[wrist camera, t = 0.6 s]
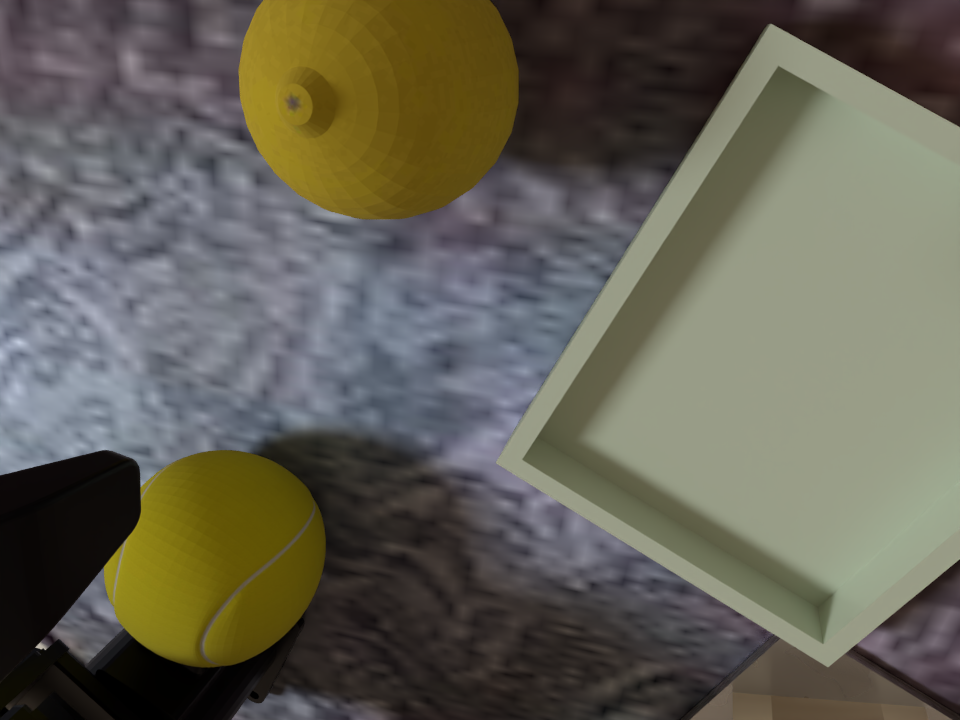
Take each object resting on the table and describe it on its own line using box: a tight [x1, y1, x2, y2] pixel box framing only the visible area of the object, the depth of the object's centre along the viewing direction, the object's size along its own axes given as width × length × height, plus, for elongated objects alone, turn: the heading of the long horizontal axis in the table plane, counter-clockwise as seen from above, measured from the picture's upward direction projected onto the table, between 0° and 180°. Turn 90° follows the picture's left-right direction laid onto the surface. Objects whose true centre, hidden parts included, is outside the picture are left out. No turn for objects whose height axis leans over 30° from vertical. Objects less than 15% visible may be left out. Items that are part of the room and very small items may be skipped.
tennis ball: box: [104, 450, 326, 667], centre depth 25 cm, size 7×7×7 cm
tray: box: [496, 24, 960, 667], centre depth 18 cm, size 13×11×2 cm
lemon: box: [239, 0, 519, 219], centre depth 16 cm, size 6×6×8 cm
